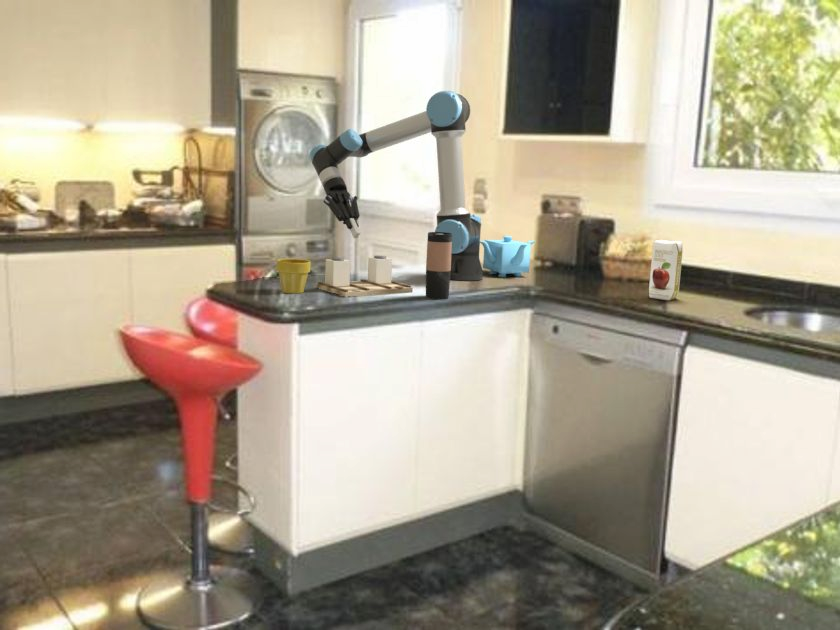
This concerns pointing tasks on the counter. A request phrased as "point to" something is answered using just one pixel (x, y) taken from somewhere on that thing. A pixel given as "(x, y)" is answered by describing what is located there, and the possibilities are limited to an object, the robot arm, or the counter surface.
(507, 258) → the teakettle
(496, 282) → the counter surface
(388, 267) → the button
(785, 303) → the counter surface
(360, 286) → the wooden tray
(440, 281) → the travel mug
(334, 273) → the button
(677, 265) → the juice carton
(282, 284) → the plant pot
